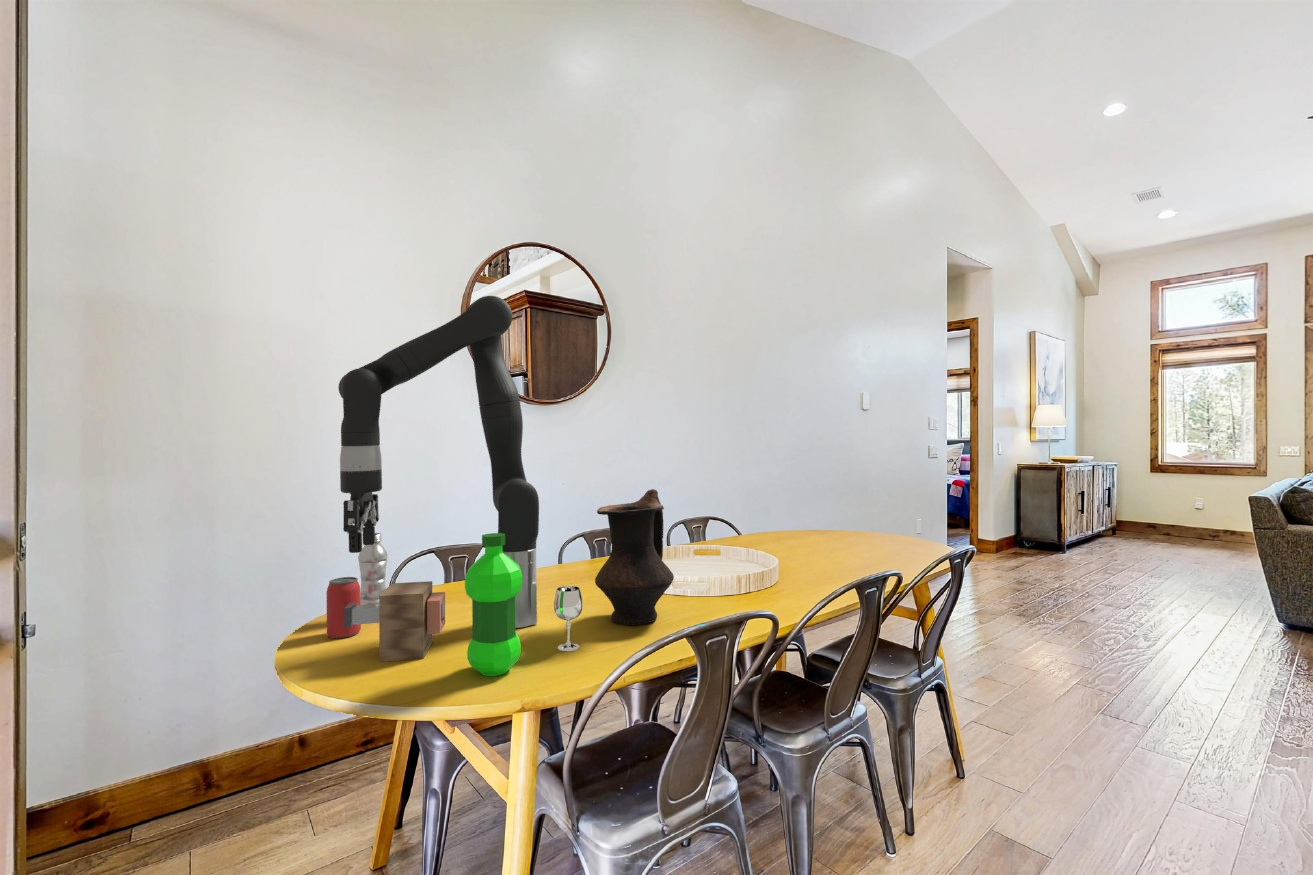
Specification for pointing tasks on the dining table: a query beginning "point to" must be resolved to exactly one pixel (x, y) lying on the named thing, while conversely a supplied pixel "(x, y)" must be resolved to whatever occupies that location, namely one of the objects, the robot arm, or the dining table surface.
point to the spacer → (435, 613)
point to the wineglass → (568, 610)
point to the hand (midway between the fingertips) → (362, 548)
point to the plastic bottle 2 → (493, 608)
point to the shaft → (369, 613)
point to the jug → (635, 560)
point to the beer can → (341, 606)
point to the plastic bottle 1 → (372, 571)
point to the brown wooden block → (404, 621)
